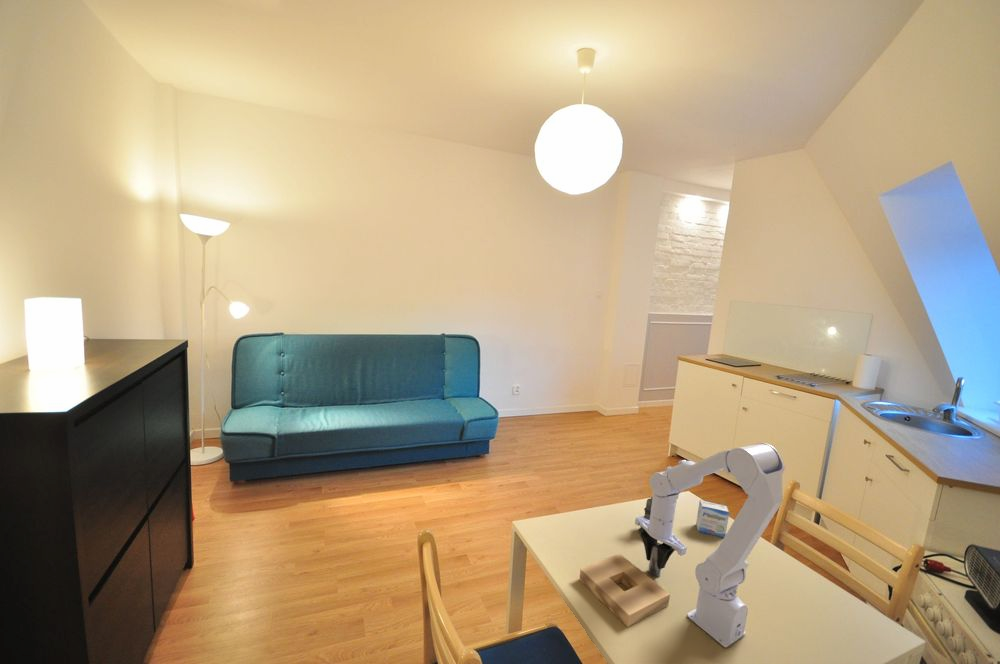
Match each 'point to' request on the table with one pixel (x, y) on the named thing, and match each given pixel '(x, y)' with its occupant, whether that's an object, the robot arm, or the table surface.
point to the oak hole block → (624, 604)
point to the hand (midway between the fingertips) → (655, 563)
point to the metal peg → (654, 561)
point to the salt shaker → (647, 512)
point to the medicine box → (712, 518)
